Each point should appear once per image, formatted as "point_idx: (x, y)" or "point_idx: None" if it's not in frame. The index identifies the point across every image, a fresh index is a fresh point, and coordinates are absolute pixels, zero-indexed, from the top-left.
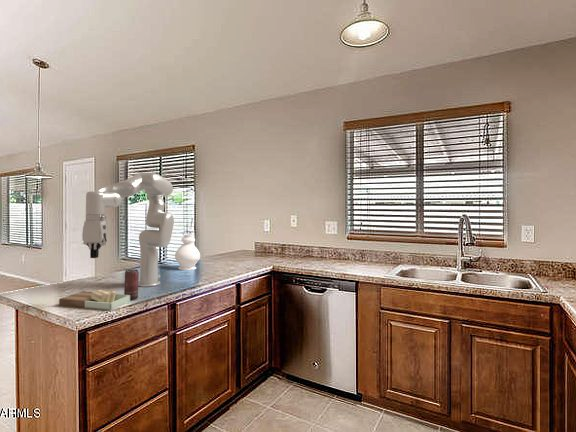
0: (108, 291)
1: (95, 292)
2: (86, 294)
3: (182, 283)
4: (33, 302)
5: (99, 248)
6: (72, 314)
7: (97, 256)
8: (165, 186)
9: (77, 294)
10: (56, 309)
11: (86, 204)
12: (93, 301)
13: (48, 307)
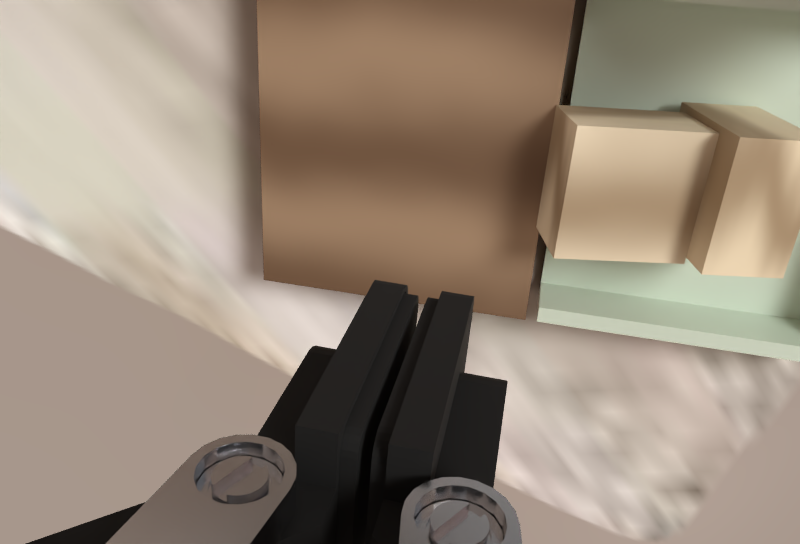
0: (738, 201)
1: (585, 242)
2: (395, 82)
3: None
4: (30, 193)
5: (511, 529)
6: (542, 440)
7: (466, 331)
8: None
9: (303, 101)
10: None
11: None
12: (626, 321)
13: (246, 302)
